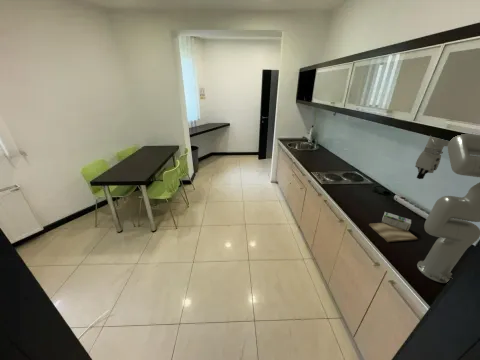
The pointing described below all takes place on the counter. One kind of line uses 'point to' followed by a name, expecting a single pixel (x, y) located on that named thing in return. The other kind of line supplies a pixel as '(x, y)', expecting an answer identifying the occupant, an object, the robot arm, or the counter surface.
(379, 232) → the oak board
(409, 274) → the counter surface
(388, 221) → the syrup box
